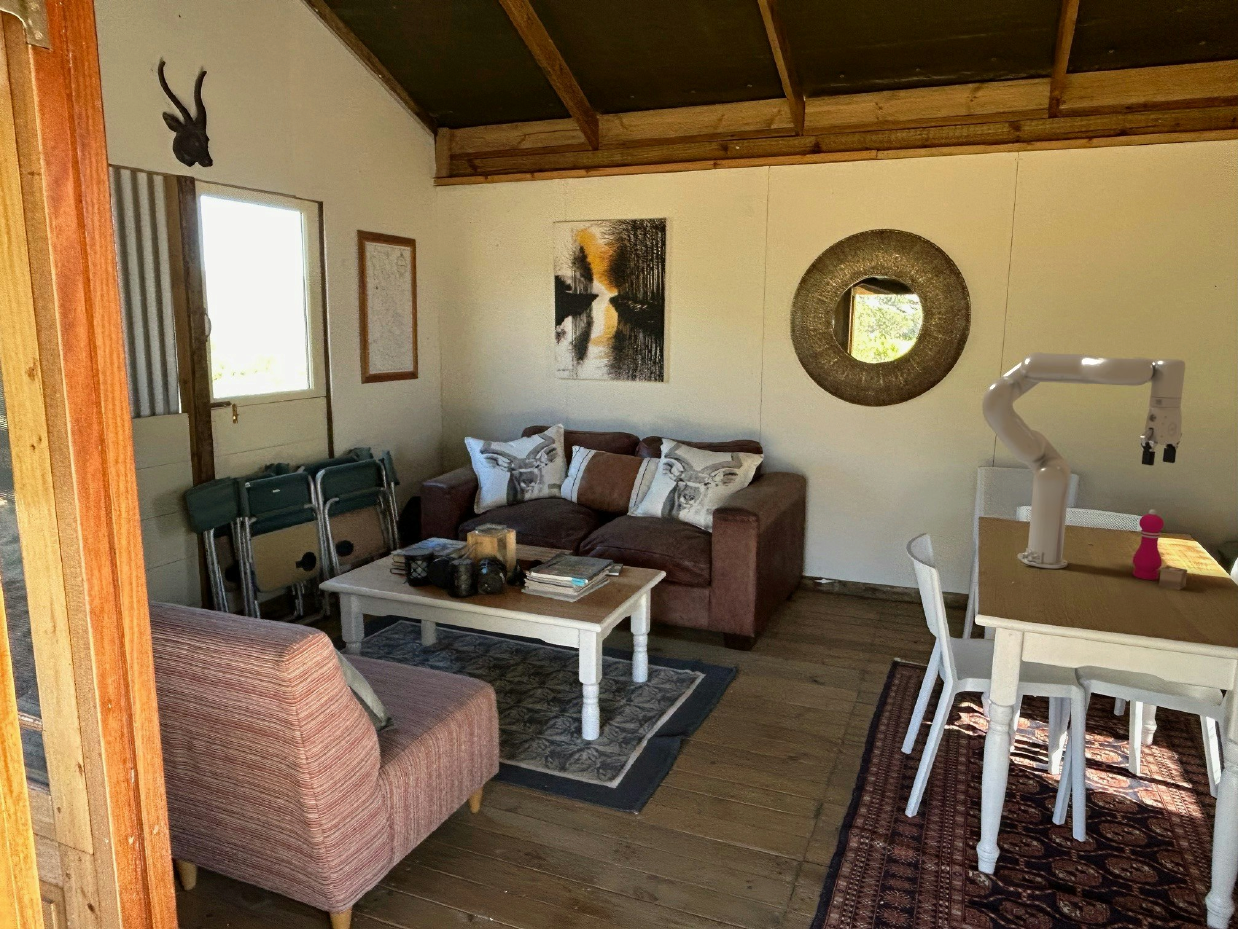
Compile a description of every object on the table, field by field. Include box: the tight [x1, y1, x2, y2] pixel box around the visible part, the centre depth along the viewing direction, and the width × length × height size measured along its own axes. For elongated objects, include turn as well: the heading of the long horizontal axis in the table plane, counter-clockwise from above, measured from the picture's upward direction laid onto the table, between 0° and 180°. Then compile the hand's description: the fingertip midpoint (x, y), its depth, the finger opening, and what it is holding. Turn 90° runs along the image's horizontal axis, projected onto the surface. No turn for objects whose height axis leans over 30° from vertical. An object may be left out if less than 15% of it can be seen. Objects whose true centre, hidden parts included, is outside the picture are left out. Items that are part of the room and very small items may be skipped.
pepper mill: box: [1132, 509, 1165, 581], centre depth 250 cm, size 7×7×20 cm
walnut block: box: [1158, 565, 1188, 591], centre depth 243 cm, size 5×5×5 cm
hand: (1158, 463), depth 247 cm, fingers open, 9 cm apart
